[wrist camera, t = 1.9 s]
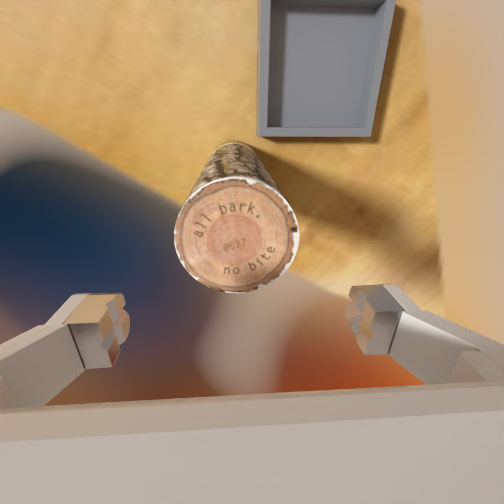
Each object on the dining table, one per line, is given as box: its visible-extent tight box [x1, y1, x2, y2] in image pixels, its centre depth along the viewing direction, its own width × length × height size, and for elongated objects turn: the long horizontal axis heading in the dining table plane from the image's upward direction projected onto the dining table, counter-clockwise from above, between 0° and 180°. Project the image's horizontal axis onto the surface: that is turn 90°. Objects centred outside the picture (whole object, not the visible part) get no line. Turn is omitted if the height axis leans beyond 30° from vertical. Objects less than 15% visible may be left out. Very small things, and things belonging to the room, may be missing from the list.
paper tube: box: [174, 141, 299, 293], centre depth 26 cm, size 7×7×25 cm
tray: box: [257, 0, 396, 137], centre depth 31 cm, size 14×14×3 cm
